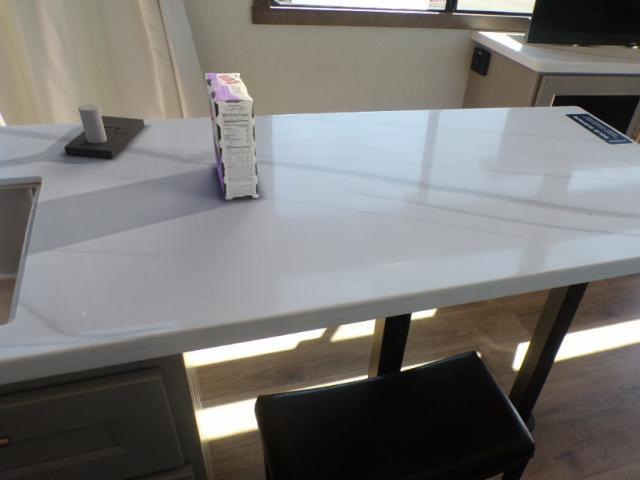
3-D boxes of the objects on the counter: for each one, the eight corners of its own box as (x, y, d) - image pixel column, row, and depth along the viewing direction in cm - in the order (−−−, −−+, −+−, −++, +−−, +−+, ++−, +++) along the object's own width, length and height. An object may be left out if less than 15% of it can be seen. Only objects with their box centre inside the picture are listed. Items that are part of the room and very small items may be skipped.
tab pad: (66, 154, 93) (53, 112, 88) (92, 133, 101) (81, 93, 96) (112, 158, 93) (102, 117, 89) (134, 137, 101) (126, 98, 97)
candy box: (215, 165, 95) (203, 71, 85) (248, 163, 97) (240, 71, 87) (224, 201, 85) (212, 99, 75) (260, 198, 87) (253, 98, 77)
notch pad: (86, 137, 99) (84, 129, 98) (104, 122, 105) (102, 115, 104) (129, 141, 100) (128, 133, 99) (144, 126, 106) (143, 119, 105)
